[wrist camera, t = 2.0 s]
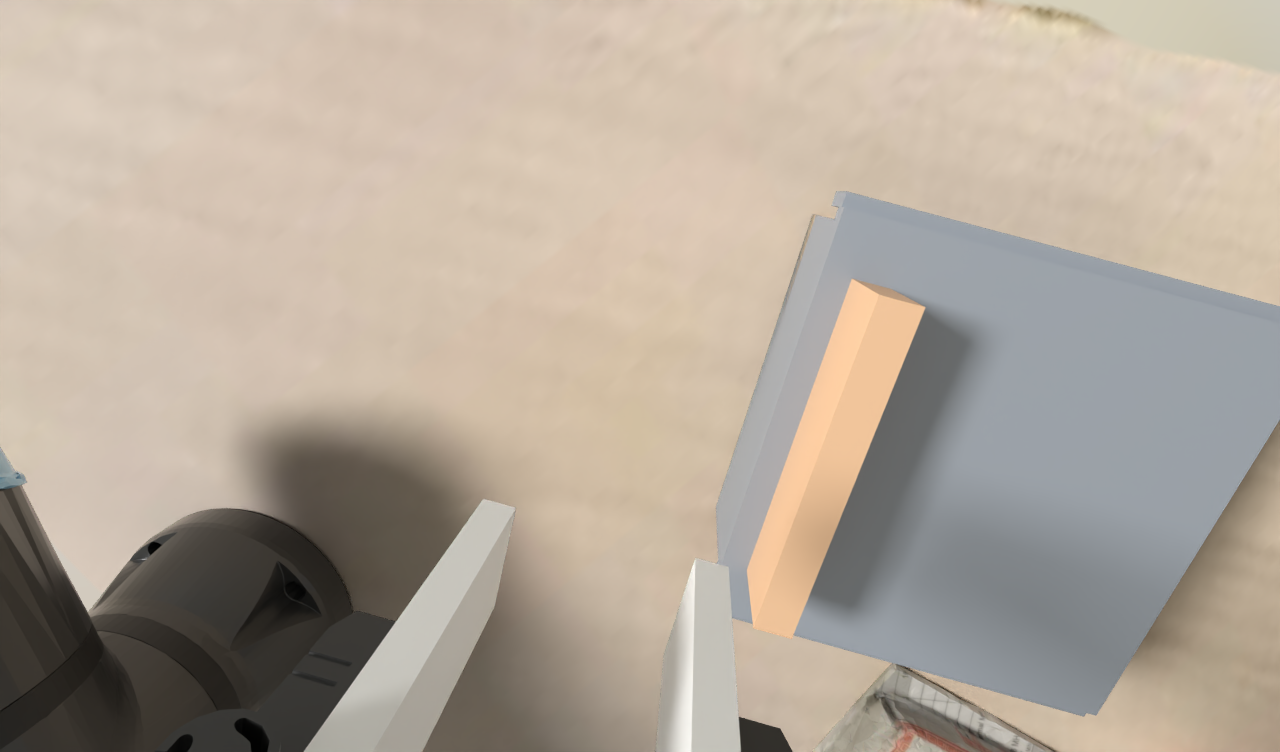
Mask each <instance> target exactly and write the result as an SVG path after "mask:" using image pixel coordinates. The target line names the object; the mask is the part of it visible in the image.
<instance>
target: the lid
mask: <svg viewBox="0 0 1280 752" xmlns="http://www.w3.org/2000/svg"><path fill="white" fill-rule="evenodd" d="M832 206H835V207H838V211H837V214H836V216H835V219H834V222H833V225H832V228H831V231H830V234H829V237H828V240H827V243H826V246H825V249H824V252H823V255H822V257H821V260H820V263H819V266H818V269H817V272H816V275H815V278H814V281H813V284H812V287H811V290H810V293H809V295H808V298H807V301H806V304H805V307H804V310H803V313H802V316H801V319H800V322H799V325H798V328H797V331H796V334H795V336H794V339H793V342H792V345H791V348H790V351H789V354H788V357H787V360H786V363H785V366H784V369H783V372H782V375H781V377H780V380H779V383H778V386H777V389H776V392H775V395H774V398H773V401H772V404H771V407H770V410H769V413H768V415H767V418H766V421H765V424H764V427H763V430H762V433H761V436H760V439H759V442H758V445H757V448H756V451H755V454H754V456H753V459H752V462H751V465H750V468H749V471H748V474H747V477H746V480H745V483H744V486H743V489H742V492H741V495H740V497H739V500H738V503H737V506H736V509H735V512H734V515H733V518H732V521H731V524H730V527H729V530H728V533H727V535H726V538H725V541H724V544H723V547H722V550H721V553H720V556H719V559H718V562H717V564H720V565H723V566H727V567H729V581H730V595H731V610H732V618H734V619H737V620H741V621H745V622H748V623H752V624H753V628H754V629H758V630H762V631H765V632H769V633H772V634H776V635H779V636H783V637H787V638H790V639H792V637H793V635H795V636H798V637H802V638H805V639H809V640H812V641H816V642H820V643H823V644H827V645H830V646H834V647H837V648H841V649H844V650H848V651H852V652H855V653H859V654H862V655H866V656H869V657H873V658H877V659H880V660H884V661H887V662H891V663H894V664H898V665H902V666H905V667H909V668H912V669H916V670H919V671H923V672H927V673H930V674H934V675H937V676H941V677H944V678H948V679H952V680H955V681H959V682H962V683H966V684H969V685H973V686H977V687H980V688H984V689H987V690H991V691H994V692H998V693H1002V694H1005V695H1009V696H1012V697H1016V698H1019V699H1023V700H1026V701H1030V702H1034V703H1037V704H1041V705H1044V706H1048V707H1051V708H1055V709H1059V710H1062V711H1066V712H1069V713H1073V714H1076V715H1080V716H1085V714H1086V713H1089V714H1092V715H1097V713H1098V712H1099V710H1100V709H1101V707H1102V705H1103V704H1104V702H1105V701H1106V699H1107V697H1108V696H1109V694H1110V692H1111V691H1112V689H1113V688H1114V686H1115V684H1116V683H1117V681H1118V680H1119V678H1120V676H1121V675H1122V673H1123V672H1124V670H1125V668H1126V667H1127V665H1128V663H1129V662H1130V660H1131V659H1132V657H1133V655H1134V654H1135V652H1136V651H1137V649H1138V647H1139V646H1140V644H1141V643H1142V641H1143V639H1144V638H1145V636H1146V634H1147V633H1148V631H1149V630H1150V628H1151V626H1152V625H1153V623H1154V622H1155V620H1156V618H1157V617H1158V615H1159V614H1160V612H1161V610H1162V609H1163V607H1164V605H1165V604H1166V602H1167V601H1168V599H1169V597H1170V596H1171V594H1172V593H1173V591H1174V589H1175V588H1176V586H1177V585H1178V583H1179V581H1180V580H1181V578H1182V576H1183V575H1184V573H1185V572H1186V570H1187V568H1188V567H1189V565H1190V564H1191V562H1192V560H1193V559H1194V557H1195V556H1196V554H1197V552H1198V551H1199V549H1200V547H1201V546H1202V544H1203V543H1204V541H1205V539H1206V538H1207V536H1208V535H1209V533H1210V531H1211V530H1212V528H1213V527H1214V525H1215V523H1216V522H1217V520H1218V518H1219V517H1220V515H1221V514H1222V512H1223V510H1224V509H1225V507H1226V506H1227V504H1228V502H1229V501H1230V499H1231V498H1232V496H1233V494H1234V493H1235V491H1236V489H1237V488H1238V486H1239V485H1240V483H1241V481H1242V480H1243V478H1244V477H1245V475H1246V473H1247V472H1248V470H1249V469H1250V467H1251V465H1252V464H1253V462H1254V460H1255V459H1256V457H1257V456H1258V454H1259V452H1260V451H1261V449H1262V448H1263V446H1264V444H1265V443H1266V441H1267V440H1268V438H1269V436H1270V435H1271V433H1272V431H1273V430H1274V428H1275V427H1276V425H1277V423H1278V422H1279V420H1280V306H1276V305H1272V304H1268V303H1264V302H1261V301H1257V300H1253V299H1249V298H1246V297H1242V296H1238V295H1234V294H1231V293H1227V292H1223V291H1219V290H1216V289H1212V288H1208V287H1204V286H1201V285H1197V284H1193V283H1189V282H1185V281H1182V280H1178V279H1174V278H1170V277H1167V276H1163V275H1159V274H1155V273H1152V272H1148V271H1144V270H1140V269H1137V268H1133V267H1129V266H1125V265H1122V264H1118V263H1114V262H1110V261H1106V260H1103V259H1099V258H1095V257H1091V256H1088V255H1084V254H1080V253H1076V252H1073V251H1069V250H1065V249H1061V248H1058V247H1054V246H1050V245H1046V244H1042V243H1039V242H1035V241H1031V240H1027V239H1024V238H1020V237H1016V236H1012V235H1009V234H1005V233H1001V232H997V231H994V230H990V229H986V228H982V227H979V226H975V225H971V224H967V223H963V222H960V221H956V220H952V219H948V218H945V217H941V216H937V215H933V214H930V213H926V212H922V211H918V210H915V209H911V208H907V207H903V206H900V205H896V204H892V203H888V202H884V201H881V200H877V199H873V198H869V197H866V196H862V195H858V194H854V193H851V192H847V191H836V194H835V197H834V200H833V203H832Z"/></svg>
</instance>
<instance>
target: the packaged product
mask: <svg viewBox="0 0 1280 752" xmlns="http://www.w3.org/2000/svg"><path fill="white" fill-rule="evenodd" d="M812 752H1053V751H1052V750H1050V749H1048V748H1047V747H1045V746H1043V745H1042V744H1040V743H1038V742H1037V741H1035V740H1033V739H1031V738H1030V737H1028V736H1026V735H1025V734H1023V733H1021V732H1020V731H1018V730H1016V729H1014V728H1012V727H1011V726H1009V725H1007V724H1006V723H1004V722H1003V721H1001V720H1000V719H998V718H997V717H995V716H994V715H992V714H990V713H988V712H986V711H984V710H982V709H981V708H979V707H977V706H975V705H972V704H970V703H968V702H966V701H963V700H961V699H959V698H957V697H956V696H954V695H952V694H951V693H949V692H947V691H946V690H944V689H942V688H940V687H939V686H937V685H935V684H933V683H931V682H929V681H928V680H926V679H924V678H922V677H920V676H918V675H917V674H915V673H913V672H911V671H909V670H907V669H906V668H903V667H901V666H899V665H897V664H894V663H892V664H891V665H890V666H889V667H888V668H887V669H886V670H885V671H884V672H883V673H882V674H881V676H880V677H879V678H878V679H877V680H876V681H875V682H874V683H873V684H872V685H871V686H870V688H869V689H868V690H867V691H866V692H865V693H864V694H863V695H862V696H861V697H860V698H859V699H858V701H857V702H856V703H855V704H854V705H853V706H852V707H851V708H850V709H849V711H848V712H847V713H846V714H845V716H844V717H843V718H842V719H841V720H840V721H839V722H838V723H837V724H836V725H835V726H834V727H833V728H832V730H831V731H830V732H829V733H828V734H827V735H826V736H825V738H824V739H823V740H822V741H821V742H820V743H819V744H818V745H817V747H816V748H815V749H814V750H813V751H812Z"/></svg>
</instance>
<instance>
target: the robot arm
mask: <svg viewBox="0 0 1280 752" xmlns="http://www.w3.org/2000/svg"><path fill="white" fill-rule="evenodd" d="M25 483H27V481H26V479H25V476H24V475H23V474H22V473H20V472H18V471H15V470H14V469H13V467H12V465H11V464H10V462H9V460H8V459H7V457H6V456H5V454H4V452H3V451H2V449H1V447H0V752H422V751H423V749H424V747H425V745H426V743H427V741H428V739H429V737H430V735H431V733H432V731H433V729H434V727H435V725H436V723H437V721H438V719H439V717H440V715H441V713H442V711H443V709H444V707H445V705H446V703H447V701H448V699H449V697H450V695H451V693H452V691H453V689H454V687H455V685H456V683H457V681H458V679H459V677H460V675H461V673H462V671H463V669H464V667H465V665H466V663H467V661H468V659H469V657H470V655H471V653H472V651H473V649H474V647H475V645H476V643H477V641H478V639H479V637H480V635H481V633H482V631H483V629H484V627H485V625H486V623H487V621H488V619H489V617H490V615H491V613H492V611H493V609H494V607H495V603H496V598H497V594H498V589H499V585H500V580H501V575H502V571H503V566H504V561H505V557H506V552H507V548H508V543H509V538H510V534H511V529H512V524H513V520H514V515H515V511H516V508H515V507H512V506H508V505H504V504H501V503H497V502H494V501H490V500H486V499H483V500H482V501H481V503H480V504H479V506H478V507H477V508H476V510H475V511H474V513H473V514H472V515H471V517H470V518H469V520H468V521H467V522H466V524H465V525H464V527H463V528H462V529H461V531H460V532H459V534H458V535H457V537H456V538H455V539H454V541H453V542H452V544H451V545H450V546H449V548H448V549H447V551H446V552H445V553H444V555H443V556H442V558H441V559H440V560H439V562H438V563H437V565H436V566H435V568H434V569H433V570H432V572H431V573H430V575H429V576H428V577H427V579H426V580H425V582H424V583H423V584H422V586H421V587H420V589H419V590H418V591H417V593H416V594H415V596H414V597H413V598H412V600H411V601H410V603H409V604H408V606H407V607H406V608H405V610H404V611H403V613H402V614H401V615H400V617H399V618H398V620H397V621H396V622H395V621H392V620H388V619H384V618H381V617H377V616H374V615H370V614H367V613H363V612H360V611H356V612H354V613H352V610H351V605H350V601H349V598H348V595H347V592H346V590H345V588H344V585H343V583H342V581H341V579H340V578H339V576H338V574H337V573H336V571H335V570H334V568H333V567H332V565H331V564H330V563H329V561H328V560H327V559H326V558H325V557H324V556H323V554H322V553H321V552H320V551H319V550H318V549H317V548H316V547H315V546H314V545H312V544H311V543H310V542H309V541H308V540H307V539H305V538H304V537H303V536H301V535H300V534H298V533H297V532H296V531H294V530H292V529H291V528H289V527H287V526H286V525H284V524H282V523H280V522H278V521H276V520H273V519H271V518H268V517H266V516H263V515H260V514H257V513H253V512H249V511H243V510H237V509H211V510H205V511H200V512H197V513H194V514H191V515H188V516H186V517H184V518H182V519H180V520H179V521H177V522H175V523H174V524H172V525H171V526H169V527H168V528H166V529H164V530H163V531H161V532H160V533H158V534H157V535H155V536H154V537H152V538H151V539H149V540H148V541H147V542H146V543H145V544H144V545H143V546H141V547H140V548H139V550H138V551H137V552H136V553H135V554H134V555H133V557H132V558H131V559H130V561H129V562H128V563H127V564H126V565H125V567H124V568H123V569H122V570H121V572H120V573H119V574H118V575H117V577H116V578H115V579H114V580H113V582H112V583H111V584H110V585H109V587H108V588H107V589H106V590H105V592H104V593H103V594H102V595H101V597H100V598H99V599H98V601H97V602H96V603H95V604H94V605H93V607H92V608H91V609H90V610H89V612H87V610H86V608H85V607H84V605H83V603H82V601H81V599H80V597H79V595H78V594H77V592H76V590H75V588H74V586H73V584H72V583H71V581H70V579H69V577H68V575H67V573H66V571H65V569H64V567H63V566H62V564H61V562H60V560H59V558H58V556H57V554H56V552H55V550H54V549H53V547H52V545H51V543H50V541H49V539H48V537H47V535H46V533H45V531H44V529H43V527H42V525H41V523H40V521H39V519H38V517H37V515H36V513H35V511H34V509H33V507H32V505H31V503H30V501H29V499H28V497H27V495H26V493H25V491H24V489H23V487H22V484H25ZM655 752H792V750H791V748H790V746H789V744H788V742H787V740H786V739H785V737H784V735H783V733H782V731H781V729H780V728H776V727H773V726H769V725H765V724H762V723H758V722H755V721H751V720H748V719H744V718H741V717H739V715H738V700H737V685H736V670H735V655H734V640H733V625H732V610H731V595H730V581H729V567H727V566H723V565H720V564H716V563H712V562H709V561H705V560H702V559H698V558H695V561H694V564H693V567H692V570H691V573H690V576H689V579H688V582H687V585H686V588H685V591H684V594H683V597H682V600H681V603H680V606H679V609H678V612H677V615H676V619H675V622H674V625H673V628H672V631H671V634H670V637H669V640H668V643H667V646H666V649H665V652H664V656H663V668H662V680H661V692H660V704H659V715H658V727H657V739H656V751H655Z"/></svg>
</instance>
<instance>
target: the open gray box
mask: <svg viewBox="0 0 1280 752" xmlns="http://www.w3.org/2000/svg"><path fill="white" fill-rule="evenodd" d="M833 222H834V219H830V218H826V217H822V216H817V215H812V218H811V221H810V224H809V227H808V230H807V233H806V236H805V239H804V242H803V245H802V248H801V251H800V254H799V257H798V260H797V263H796V266H795V269H794V272H793V275H792V278H791V281H790V284H789V287H788V290H787V294H786V297H785V300H784V303H783V306H782V309H781V312H780V315H779V318H778V321H777V324H776V327H775V330H774V333H773V336H772V339H771V342H770V345H769V348H768V351H767V354H766V357H765V360H764V363H763V366H762V369H761V372H760V375H759V378H758V381H757V384H756V387H755V390H754V393H753V397H752V400H751V403H750V406H749V409H748V412H747V415H746V418H745V421H744V424H743V427H742V430H741V433H740V436H739V439H738V442H737V445H736V448H735V451H734V454H733V457H732V460H731V463H730V466H729V469H728V472H727V475H726V478H725V481H724V484H723V487H722V490H721V493H720V496H719V499H718V503H717V506H716V517H717V542H718V559H719V556H720V553H721V550H722V547H723V544H724V541H725V538H726V535H727V533H728V530H729V527H730V524H731V521H732V518H733V515H734V512H735V509H736V506H737V503H738V500H739V497H740V495H741V492H742V489H743V486H744V483H745V480H746V477H747V474H748V471H749V468H750V465H751V462H752V459H753V456H754V454H755V451H756V448H757V445H758V442H759V439H760V436H761V433H762V430H763V427H764V424H765V421H766V418H767V415H768V413H769V410H770V407H771V404H772V401H773V398H774V395H775V392H776V389H777V386H778V383H779V380H780V377H781V375H782V372H783V369H784V366H785V363H786V360H787V357H788V354H789V351H790V348H791V345H792V342H793V339H794V336H795V334H796V331H797V328H798V325H799V322H800V319H801V316H802V313H803V310H804V307H805V304H806V301H807V298H808V295H809V293H810V290H811V287H812V284H813V281H814V278H815V275H816V272H817V269H818V266H819V263H820V260H821V257H822V255H823V252H824V249H825V246H826V243H827V240H828V237H829V234H830V231H831V228H832V225H833Z"/></svg>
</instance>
